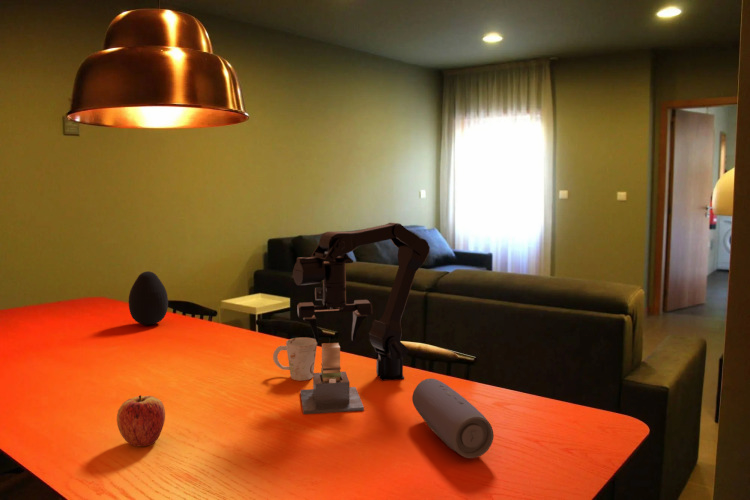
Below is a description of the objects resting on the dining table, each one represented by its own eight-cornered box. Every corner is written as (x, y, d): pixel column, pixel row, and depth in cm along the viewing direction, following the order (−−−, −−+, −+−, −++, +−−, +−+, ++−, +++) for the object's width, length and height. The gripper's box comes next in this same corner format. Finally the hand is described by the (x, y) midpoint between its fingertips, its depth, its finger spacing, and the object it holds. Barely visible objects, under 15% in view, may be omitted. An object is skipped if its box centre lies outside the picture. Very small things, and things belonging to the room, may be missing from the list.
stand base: (355, 389, 150) (355, 363, 150) (363, 410, 137) (364, 381, 136) (300, 392, 148) (300, 365, 147) (303, 414, 134) (303, 384, 134)
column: (338, 377, 144) (338, 342, 143) (340, 383, 140) (340, 347, 139) (321, 378, 144) (321, 343, 143) (322, 384, 139) (322, 348, 138)
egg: (159, 318, 228) (158, 267, 226) (174, 325, 218) (173, 271, 216) (123, 324, 219) (121, 271, 216) (137, 331, 209) (135, 275, 206)
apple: (118, 456, 113) (115, 406, 112) (117, 438, 121) (115, 391, 120) (167, 448, 117) (166, 400, 115) (164, 431, 125) (162, 385, 124)
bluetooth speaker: (496, 461, 112) (497, 411, 111) (451, 468, 110) (452, 416, 108) (448, 416, 134) (449, 374, 133) (409, 421, 131) (410, 377, 130)
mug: (311, 383, 155) (311, 346, 154) (267, 379, 158) (266, 343, 157) (321, 373, 163) (320, 338, 162) (278, 370, 166) (277, 335, 165)
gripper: (364, 275, 158) (365, 331, 160) (295, 277, 155) (296, 335, 156) (372, 282, 147) (373, 342, 149) (298, 285, 144) (299, 347, 146)
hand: (335, 341), depth 150 cm, fingers open, 9 cm apart
